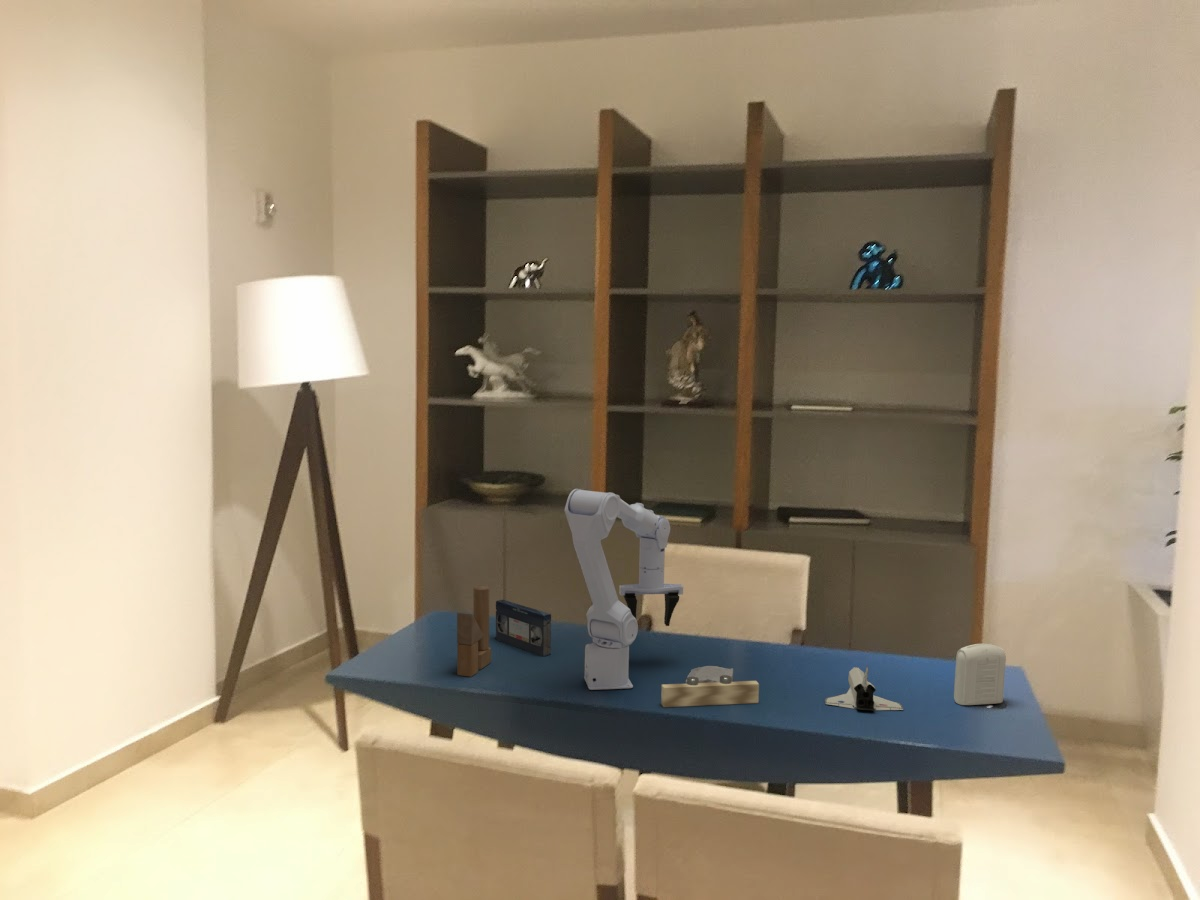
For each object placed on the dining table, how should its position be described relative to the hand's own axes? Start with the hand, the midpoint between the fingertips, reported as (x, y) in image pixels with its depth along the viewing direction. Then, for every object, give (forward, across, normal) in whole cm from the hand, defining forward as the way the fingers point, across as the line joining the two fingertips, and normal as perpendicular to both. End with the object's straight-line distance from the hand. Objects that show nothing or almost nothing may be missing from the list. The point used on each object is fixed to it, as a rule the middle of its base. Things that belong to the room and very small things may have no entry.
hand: (650, 625), depth 216 cm
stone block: (+10, -10, +16) cm, 21 cm away
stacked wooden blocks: (+10, +40, -1) cm, 41 cm away
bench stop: (+9, -8, +25) cm, 28 cm away
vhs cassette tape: (+10, +28, -16) cm, 34 cm away
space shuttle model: (+10, -41, +22) cm, 48 cm away
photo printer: (+10, -64, +30) cm, 71 cm away
